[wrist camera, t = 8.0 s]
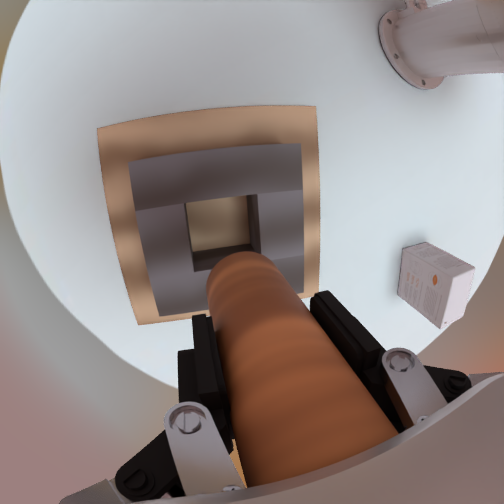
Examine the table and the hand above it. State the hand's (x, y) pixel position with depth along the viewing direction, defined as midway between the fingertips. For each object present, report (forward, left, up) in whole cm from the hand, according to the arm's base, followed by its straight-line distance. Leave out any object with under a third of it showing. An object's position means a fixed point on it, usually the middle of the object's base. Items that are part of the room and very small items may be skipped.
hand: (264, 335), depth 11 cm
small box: (+11, +28, -20) cm, 36 cm away
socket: (0, 0, -19) cm, 19 cm away
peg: (0, 0, -4) cm, 4 cm away
